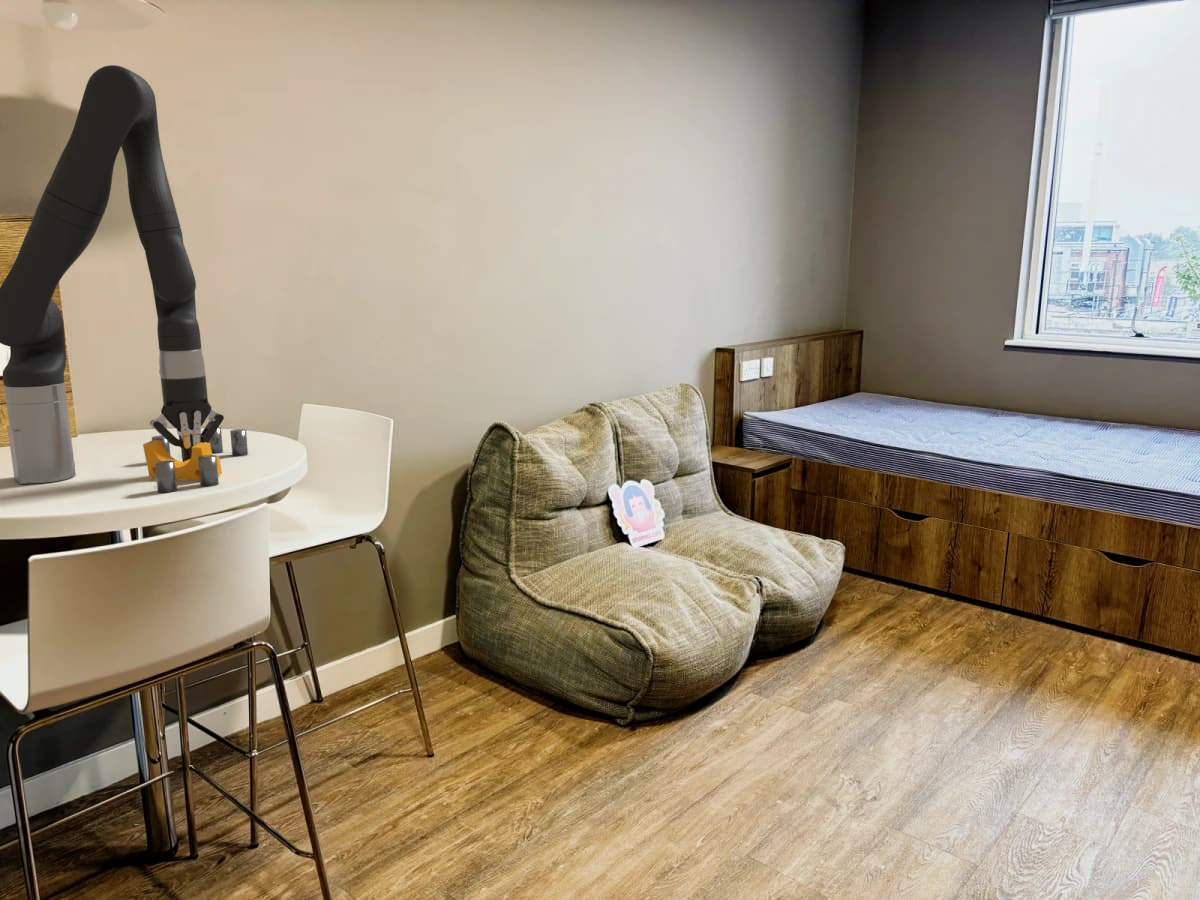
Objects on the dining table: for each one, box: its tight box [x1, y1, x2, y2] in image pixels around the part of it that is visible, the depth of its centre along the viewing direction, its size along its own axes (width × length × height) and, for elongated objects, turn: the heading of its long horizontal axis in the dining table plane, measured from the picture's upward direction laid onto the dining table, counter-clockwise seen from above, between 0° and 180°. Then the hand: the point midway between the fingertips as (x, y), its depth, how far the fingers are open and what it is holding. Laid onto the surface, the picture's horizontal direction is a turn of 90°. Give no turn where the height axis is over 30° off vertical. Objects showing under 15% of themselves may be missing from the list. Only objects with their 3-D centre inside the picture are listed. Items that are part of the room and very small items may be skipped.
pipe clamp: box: [142, 439, 223, 482], centre depth 164 cm, size 12×4×6 cm, turn 77°
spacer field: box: [151, 426, 249, 494], centre depth 171 cm, size 23×31×5 cm
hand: (192, 466), depth 169 cm, fingers closed
